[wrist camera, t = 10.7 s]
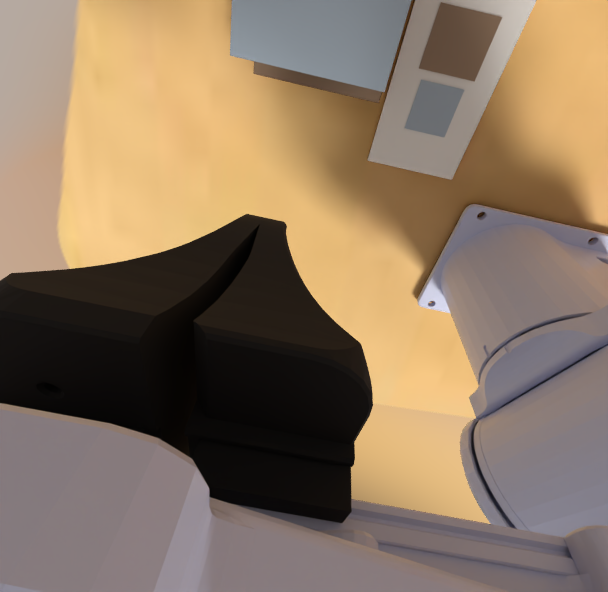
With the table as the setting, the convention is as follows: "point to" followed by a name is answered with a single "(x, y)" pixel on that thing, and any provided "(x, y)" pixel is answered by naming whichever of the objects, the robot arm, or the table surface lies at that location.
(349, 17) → the gray brick
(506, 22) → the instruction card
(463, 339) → the robot arm
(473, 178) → the table surface
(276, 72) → the base brick
